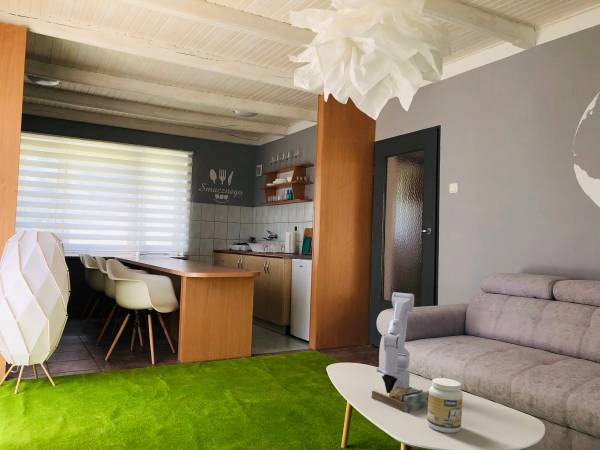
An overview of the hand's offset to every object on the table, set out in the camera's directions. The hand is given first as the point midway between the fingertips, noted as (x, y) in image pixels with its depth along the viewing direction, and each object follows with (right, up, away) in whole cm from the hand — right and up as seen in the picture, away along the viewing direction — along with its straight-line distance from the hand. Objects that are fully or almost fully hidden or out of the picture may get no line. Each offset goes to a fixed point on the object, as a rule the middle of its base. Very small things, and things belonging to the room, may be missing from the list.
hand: (389, 392), depth 214 cm
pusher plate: (+7, -2, -10) cm, 13 cm away
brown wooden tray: (+4, -2, -6) cm, 7 cm away
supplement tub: (+15, -2, -31) cm, 35 cm away
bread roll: (+4, -2, -5) cm, 7 cm away
